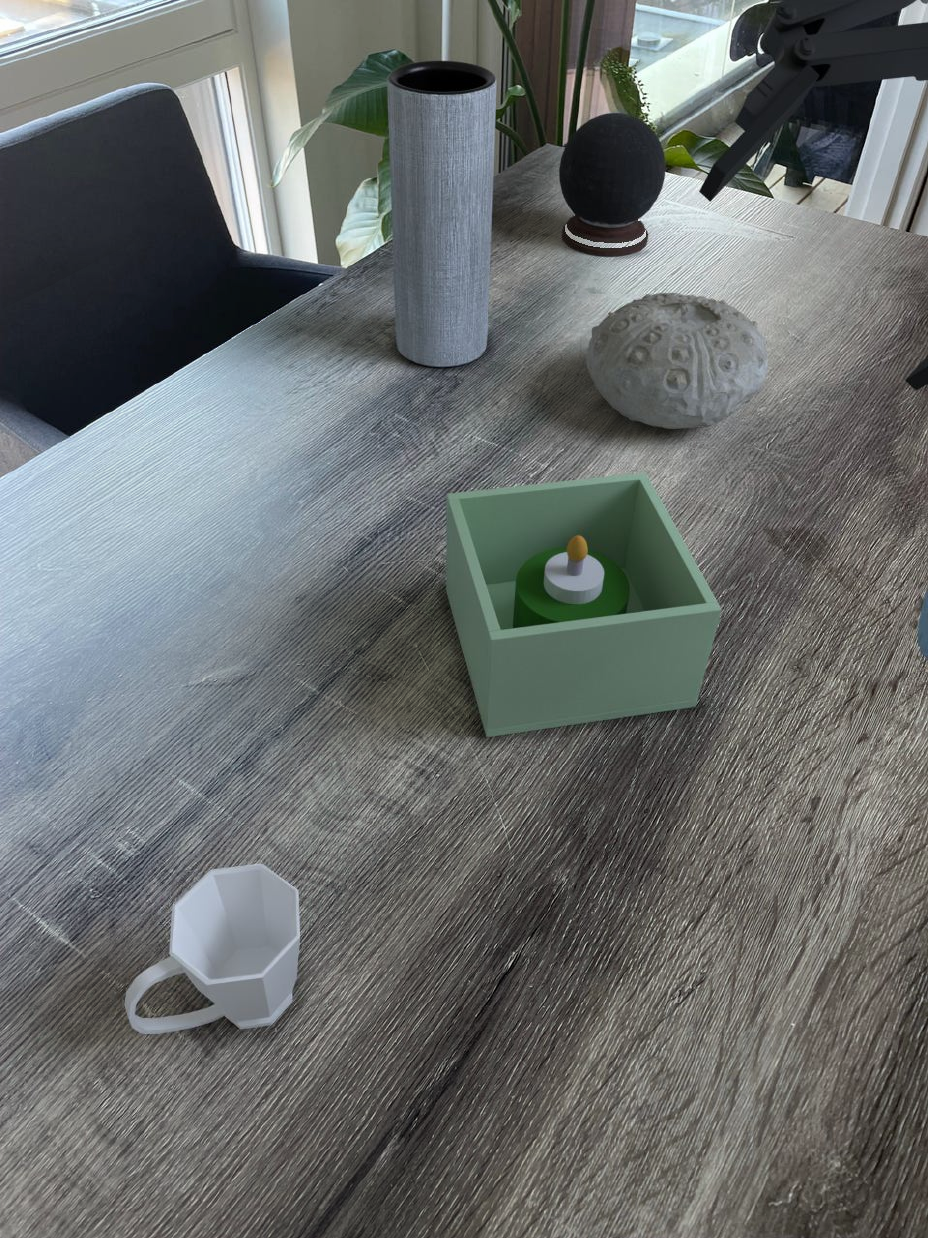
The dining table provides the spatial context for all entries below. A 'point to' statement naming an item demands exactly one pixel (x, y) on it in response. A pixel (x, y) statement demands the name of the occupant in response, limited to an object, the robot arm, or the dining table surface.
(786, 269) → the dining table surface
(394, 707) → the dining table surface
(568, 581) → the candle
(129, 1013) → the cup
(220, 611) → the dining table surface
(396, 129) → the vase
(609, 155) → the black ball on stand
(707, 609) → the bin
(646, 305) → the decorative shell
